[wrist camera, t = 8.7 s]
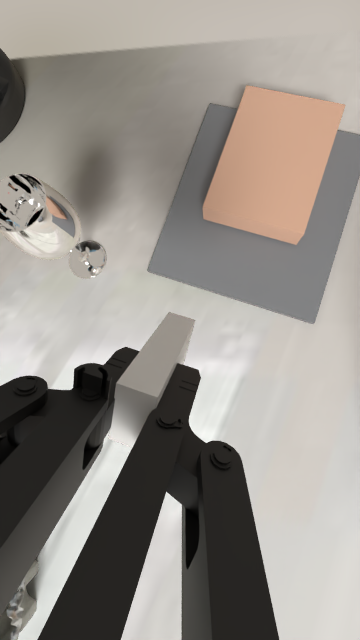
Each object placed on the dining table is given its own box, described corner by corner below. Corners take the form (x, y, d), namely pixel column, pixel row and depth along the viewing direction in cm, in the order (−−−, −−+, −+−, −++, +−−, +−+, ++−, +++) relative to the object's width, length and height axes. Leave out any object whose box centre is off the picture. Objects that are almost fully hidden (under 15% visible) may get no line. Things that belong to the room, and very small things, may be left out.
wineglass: (87, 294, 32) (14, 255, 20) (53, 262, 33) (-35, 207, 21) (122, 256, 32) (69, 196, 20) (87, 226, 33) (18, 151, 21)
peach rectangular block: (304, 234, 27) (345, 104, 28) (202, 206, 28) (246, 85, 29) (295, 246, 29) (333, 128, 31) (203, 220, 31) (243, 109, 32)
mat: (312, 323, 29) (314, 323, 28) (148, 271, 31) (147, 270, 31) (368, 141, 31) (371, 137, 30) (209, 107, 33) (209, 103, 33)
